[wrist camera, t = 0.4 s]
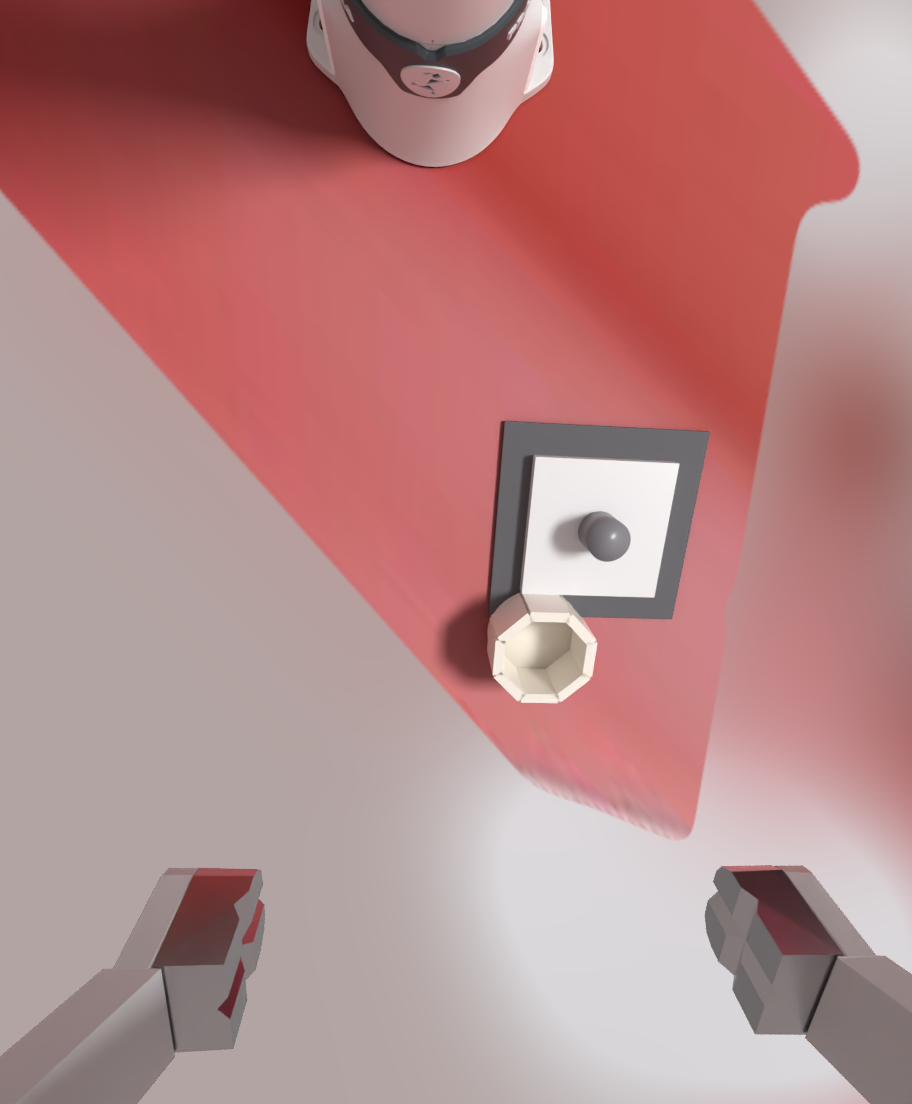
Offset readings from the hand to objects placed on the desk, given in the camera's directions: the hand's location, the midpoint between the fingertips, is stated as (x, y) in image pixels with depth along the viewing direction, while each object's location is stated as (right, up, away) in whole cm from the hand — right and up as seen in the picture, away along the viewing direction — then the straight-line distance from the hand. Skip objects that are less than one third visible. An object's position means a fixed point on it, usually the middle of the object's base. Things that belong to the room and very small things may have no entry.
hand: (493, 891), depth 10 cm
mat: (+13, +9, +45) cm, 48 cm away
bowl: (+8, -2, +49) cm, 50 cm away
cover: (+13, +9, +45) cm, 48 cm away
